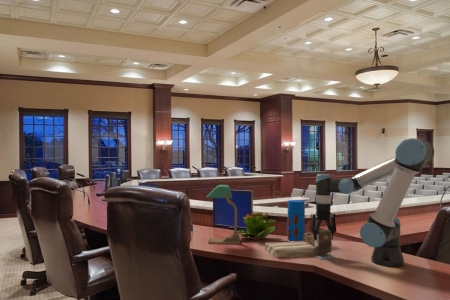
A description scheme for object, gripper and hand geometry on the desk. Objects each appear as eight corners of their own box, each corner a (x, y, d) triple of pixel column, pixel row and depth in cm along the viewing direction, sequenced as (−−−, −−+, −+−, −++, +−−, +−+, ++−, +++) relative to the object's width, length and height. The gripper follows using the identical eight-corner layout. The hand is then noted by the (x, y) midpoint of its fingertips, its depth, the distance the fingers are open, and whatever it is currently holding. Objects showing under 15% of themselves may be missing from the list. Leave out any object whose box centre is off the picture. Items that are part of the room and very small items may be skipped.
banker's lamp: (240, 245, 211) (240, 186, 211) (205, 245, 211) (206, 186, 212) (239, 239, 226) (240, 184, 227) (207, 239, 227) (207, 184, 228)
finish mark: (336, 258, 185) (336, 257, 185) (320, 259, 183) (320, 258, 183) (328, 254, 192) (328, 253, 192) (313, 255, 190) (313, 254, 190)
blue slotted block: (304, 242, 220) (304, 202, 220) (287, 241, 222) (287, 201, 223) (304, 238, 230) (304, 200, 231) (287, 237, 233) (287, 199, 233)
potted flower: (245, 232, 247) (246, 207, 248) (279, 235, 239) (279, 209, 240) (234, 240, 224) (234, 212, 224) (271, 244, 216) (271, 215, 216)
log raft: (327, 254, 193) (327, 247, 193) (276, 257, 185) (276, 250, 186) (313, 247, 208) (313, 240, 208) (265, 250, 201) (265, 242, 201)
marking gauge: (332, 253, 187) (332, 231, 188) (320, 253, 186) (320, 231, 186) (312, 243, 208) (312, 224, 208) (301, 244, 206) (301, 224, 206)
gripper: (336, 201, 196) (336, 243, 196) (303, 202, 191) (303, 245, 191) (343, 203, 189) (343, 246, 188) (309, 204, 184) (309, 248, 183)
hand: (323, 245), depth 190 cm, fingers closed on marking gauge, 7 cm apart
